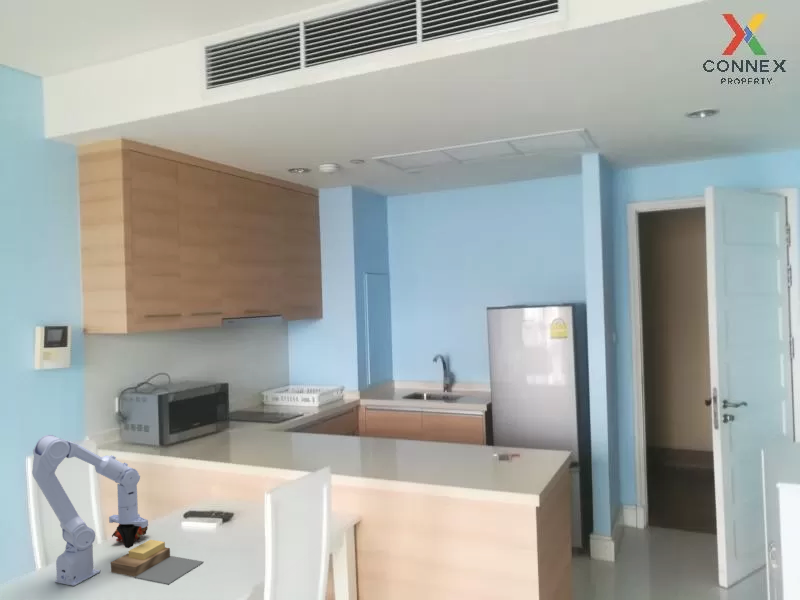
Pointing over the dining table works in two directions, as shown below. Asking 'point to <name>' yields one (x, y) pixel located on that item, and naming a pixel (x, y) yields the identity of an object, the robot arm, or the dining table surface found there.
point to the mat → (169, 570)
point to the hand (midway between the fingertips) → (129, 546)
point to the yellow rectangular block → (146, 549)
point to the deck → (137, 563)
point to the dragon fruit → (140, 532)
